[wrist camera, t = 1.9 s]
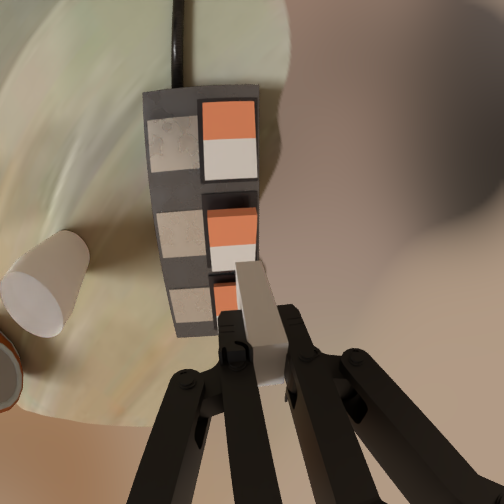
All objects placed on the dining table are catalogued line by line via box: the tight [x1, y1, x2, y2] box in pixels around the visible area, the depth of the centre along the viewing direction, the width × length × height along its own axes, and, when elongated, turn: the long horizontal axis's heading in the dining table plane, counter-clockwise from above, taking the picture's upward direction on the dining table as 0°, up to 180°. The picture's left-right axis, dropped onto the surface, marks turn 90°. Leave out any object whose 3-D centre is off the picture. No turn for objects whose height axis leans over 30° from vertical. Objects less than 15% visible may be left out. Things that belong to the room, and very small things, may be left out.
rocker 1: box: [203, 101, 257, 181], centre depth 23 cm, size 7×4×1 cm, turn 0°
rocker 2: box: [207, 207, 257, 272], centre depth 28 cm, size 7×4×1 cm, turn 0°
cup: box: [0, 230, 90, 338], centre depth 27 cm, size 9×9×12 cm
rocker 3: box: [214, 282, 238, 326], centre depth 32 cm, size 7×4×1 cm, turn 1°
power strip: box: [143, 0, 259, 338], centre depth 28 cm, size 42×11×5 cm, turn 0°
